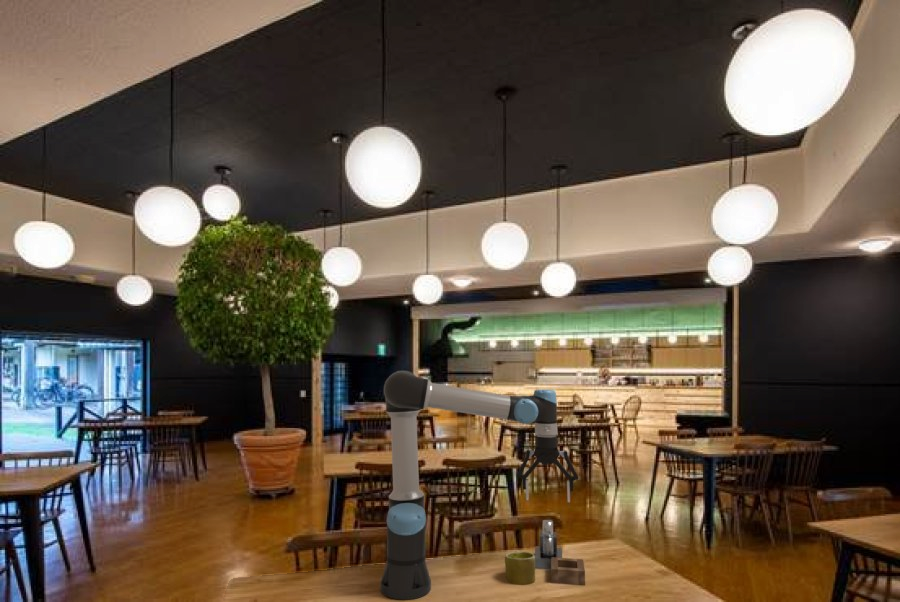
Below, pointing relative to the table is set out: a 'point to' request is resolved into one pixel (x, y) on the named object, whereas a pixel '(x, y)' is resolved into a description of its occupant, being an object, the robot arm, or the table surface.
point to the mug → (520, 567)
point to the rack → (567, 571)
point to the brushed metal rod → (548, 539)
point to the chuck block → (539, 560)
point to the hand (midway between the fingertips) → (548, 500)
